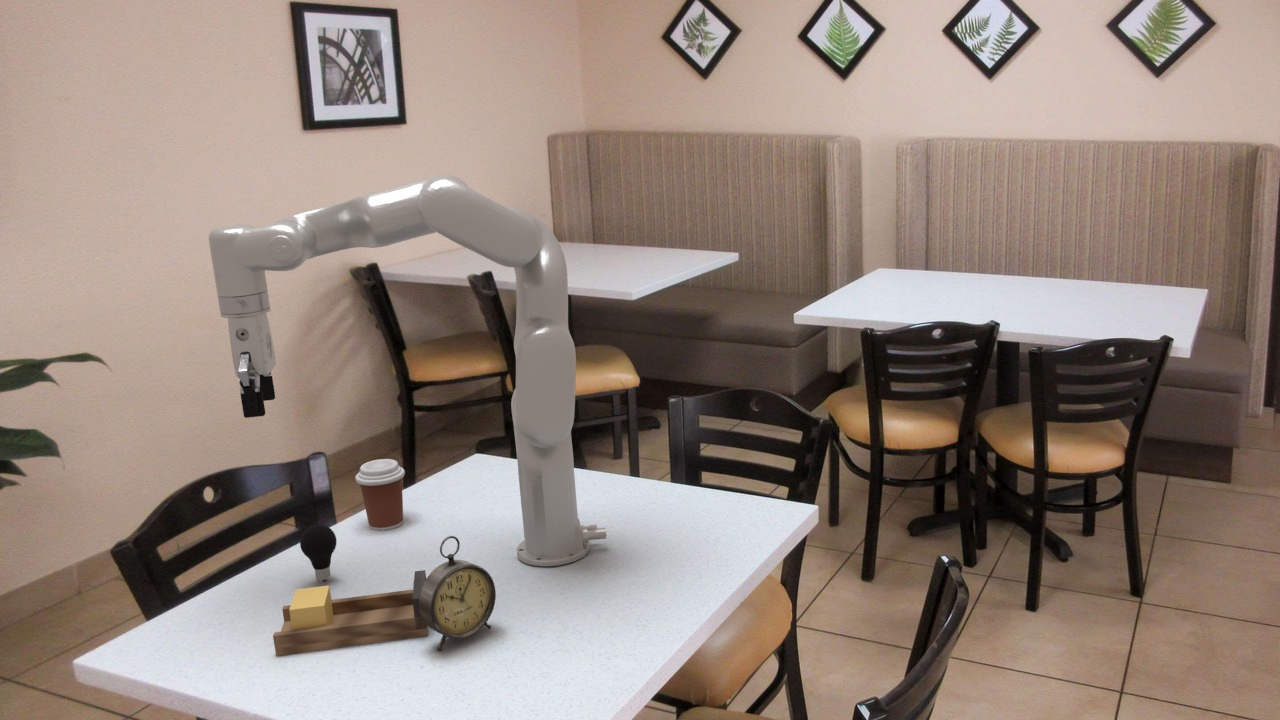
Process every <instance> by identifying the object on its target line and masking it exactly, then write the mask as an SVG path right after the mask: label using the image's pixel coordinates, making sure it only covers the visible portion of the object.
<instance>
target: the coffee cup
mask: <svg viewBox="0 0 1280 720" xmlns="http://www.w3.org/2000/svg"><path fill="white" fill-rule="evenodd" d="M405 474H406V470H405V469H404V468H403V467H401V466H400V465H399V463H398V461H397V460H396V459H395V460H394V459H392V458H383V459H382V458H381V459H380V458H379V459H375V460H370V461H367V462H365V463H363V464H362V465H361V466H360V467H359V471H358V473H357V474H356V475H355V477H354V478H355V482H356V484H359V486H360V490H361V494H362V499H363V504H364V509H365V513H366V518H367V522H368V527H369V529H370V530H372V531H375V532H385V531H391V530H394V529H397V528H400V527H401V526H403V524H404V521H405V520H404V502H403V501H404V499H403V478H404V476H405Z"/></svg>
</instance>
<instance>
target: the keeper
mask: <svg viewBox="0 0 1280 720" xmlns="http://www.w3.org/2000/svg"><path fill="white" fill-rule="evenodd" d="M330 588H331V587H330V585H324V586H323V585H321V586H315V587H314V586H313V587H307V588H297V589H295V591H294V595H293V598H292V601H291V603H290V605H291V606H290V609H289V612H290V618H291V625H292V630H297V629H304V628H312V627H320V626H327V625H331V624H332V620H333V616H334V614H333V607H332V600H333V599H332V595H331V594H332V593H331V589H330Z"/></svg>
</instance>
